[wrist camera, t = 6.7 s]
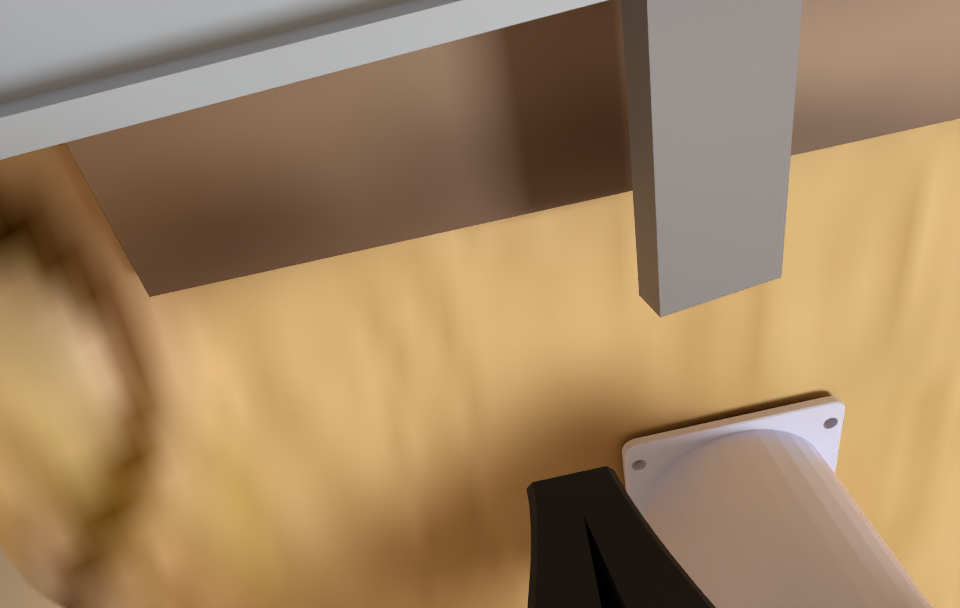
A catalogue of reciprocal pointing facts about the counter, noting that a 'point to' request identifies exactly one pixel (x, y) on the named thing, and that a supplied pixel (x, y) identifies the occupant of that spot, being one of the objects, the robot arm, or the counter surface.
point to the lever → (436, 20)
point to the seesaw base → (465, 137)
